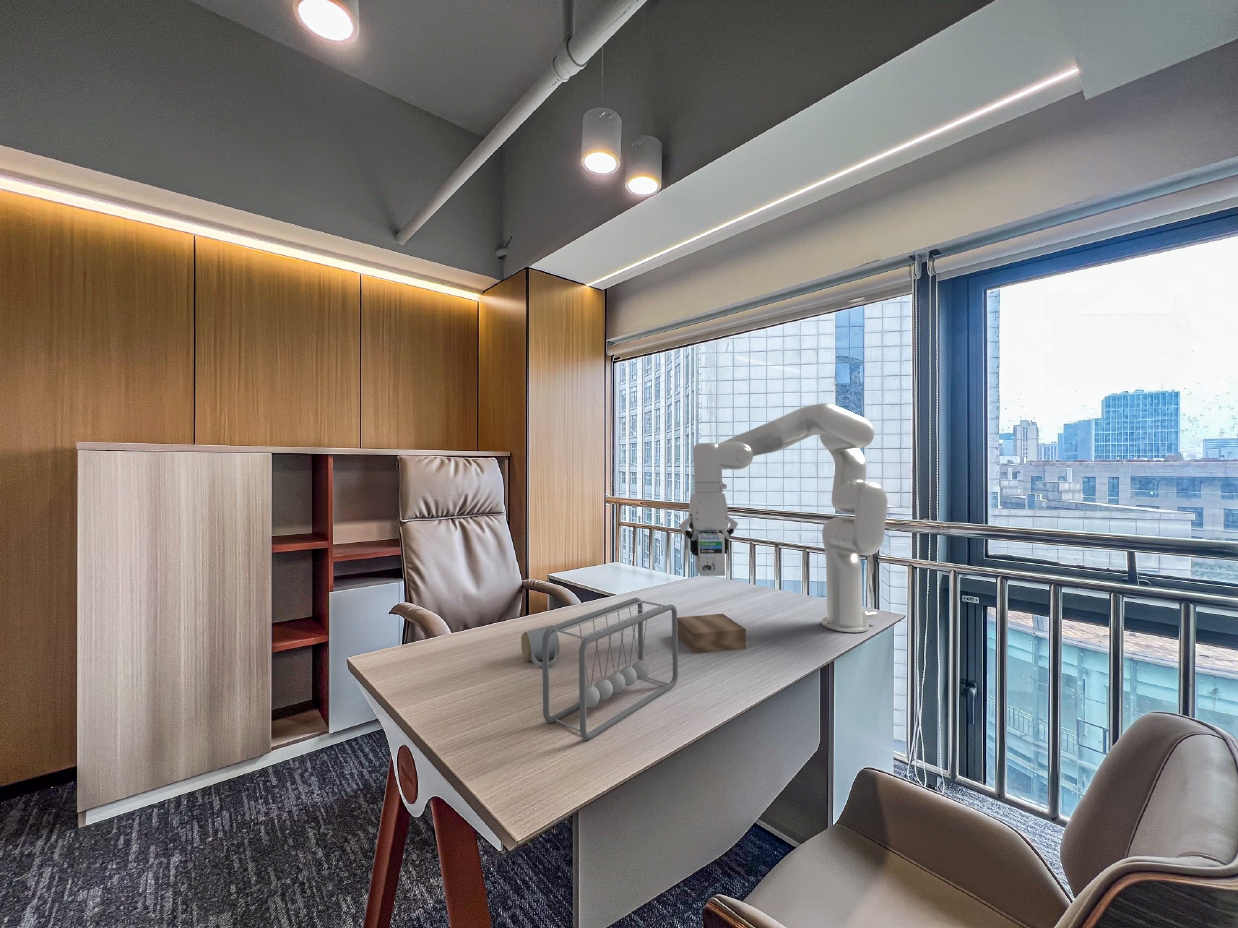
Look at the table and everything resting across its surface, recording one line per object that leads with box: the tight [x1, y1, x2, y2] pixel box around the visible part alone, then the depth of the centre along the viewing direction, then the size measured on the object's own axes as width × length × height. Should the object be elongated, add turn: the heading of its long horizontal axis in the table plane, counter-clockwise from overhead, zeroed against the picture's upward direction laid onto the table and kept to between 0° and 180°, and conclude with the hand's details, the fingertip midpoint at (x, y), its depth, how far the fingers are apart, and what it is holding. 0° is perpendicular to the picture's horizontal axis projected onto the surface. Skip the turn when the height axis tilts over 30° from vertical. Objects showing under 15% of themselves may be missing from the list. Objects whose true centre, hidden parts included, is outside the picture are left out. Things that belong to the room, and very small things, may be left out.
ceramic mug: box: [520, 624, 561, 669], centre depth 122 cm, size 11×8×8 cm
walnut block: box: [677, 613, 747, 654], centre depth 133 cm, size 14×14×5 cm
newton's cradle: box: [542, 597, 679, 741], centre depth 99 cm, size 30×10×18 cm, turn 140°
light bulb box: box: [694, 531, 726, 577], centre depth 133 cm, size 11×7×11 cm, turn 179°
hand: (709, 553), depth 134 cm, fingers closed on light bulb box, 7 cm apart
